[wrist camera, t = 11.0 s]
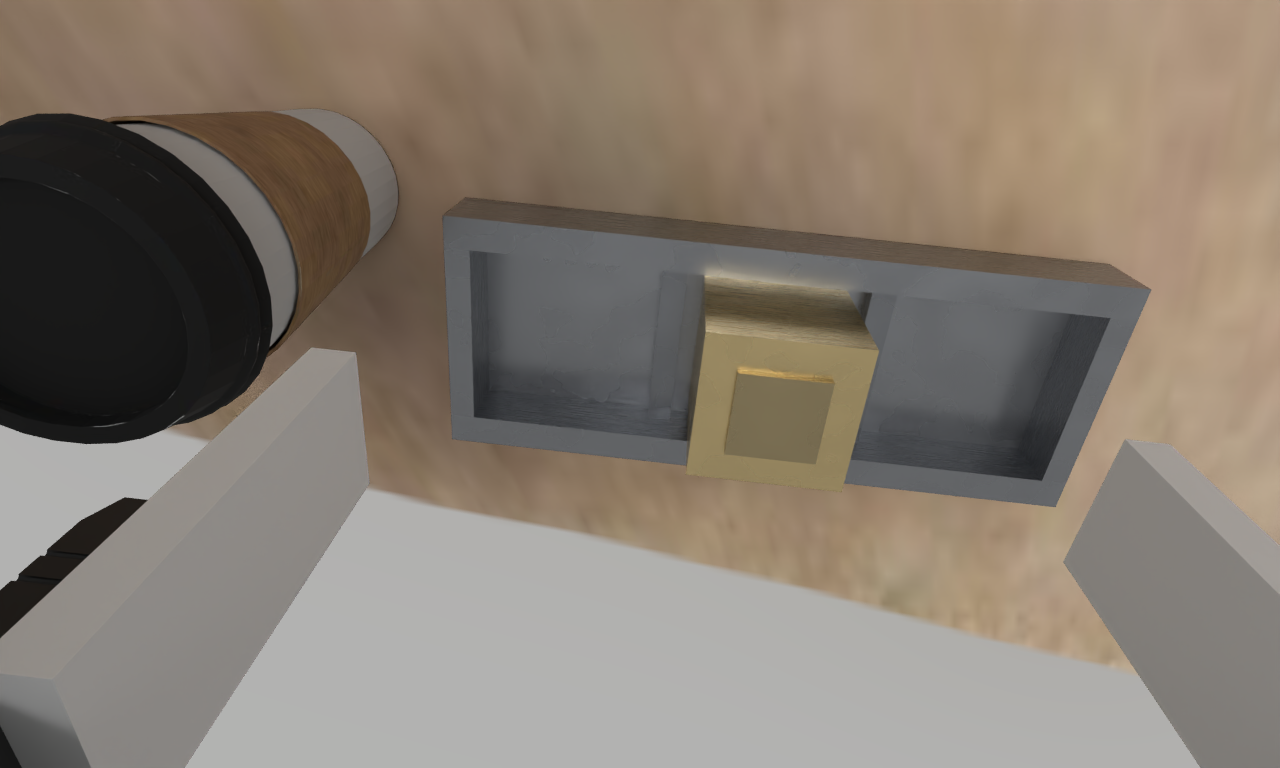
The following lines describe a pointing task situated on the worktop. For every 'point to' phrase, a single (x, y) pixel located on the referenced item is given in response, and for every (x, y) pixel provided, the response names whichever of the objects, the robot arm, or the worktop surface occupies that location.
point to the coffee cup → (169, 258)
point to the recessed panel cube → (777, 384)
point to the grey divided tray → (868, 269)
